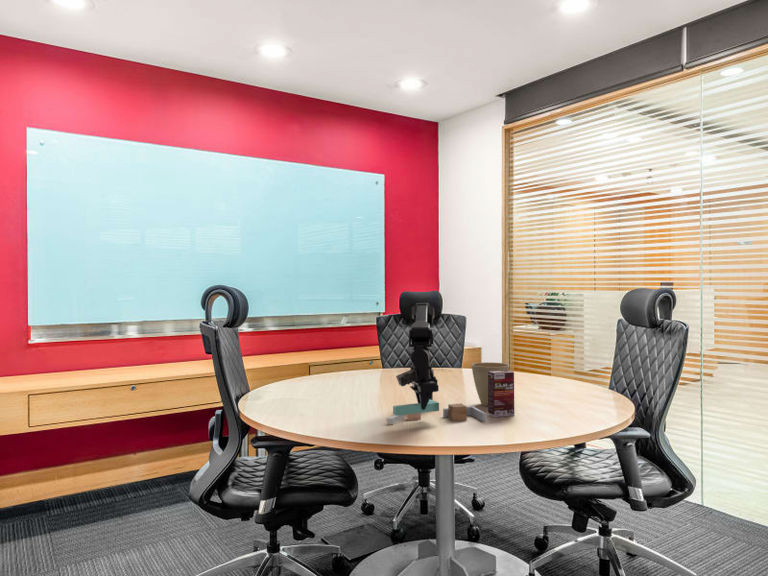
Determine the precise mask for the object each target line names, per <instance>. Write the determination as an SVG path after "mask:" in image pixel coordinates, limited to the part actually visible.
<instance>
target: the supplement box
mask: <svg viewBox="0 0 768 576" xmlns="http://www.w3.org/2000/svg"><path fill="white" fill-rule="evenodd" d="M487 414H488V415H489V416H490V417H492V418H499V417H510V416H511V417H512V416H515V371H511V370H509V371H508V370H507V371H491V372H488V406H487Z"/></svg>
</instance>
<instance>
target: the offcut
mask: <svg viewBox="0 0 768 576" xmlns="http://www.w3.org/2000/svg"><path fill="white" fill-rule="evenodd" d="M421 416H422V413H416V414H407V418H406V419H407V420H408V421H415V419H419V420H422V419H421V418H422V417H421Z"/></svg>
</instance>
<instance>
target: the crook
mask: <svg viewBox="0 0 768 576" xmlns="http://www.w3.org/2000/svg"><path fill="white" fill-rule="evenodd" d="M439 411H440V403H439V402H438V401H436V400H434V399H433V400H431V399H429V401H428V404H427V406H426V408H425V410H422V408H421V403H418V402H417V403H409V404H407V403H406V404H399V405H393V406H392V413H393V414H392V415H396V416H398V415H404V416H405V415H407V414H416V413H421V414H423V413H433V412H439Z"/></svg>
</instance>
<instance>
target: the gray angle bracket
mask: <svg viewBox="0 0 768 576" xmlns="http://www.w3.org/2000/svg"><path fill="white" fill-rule="evenodd" d="M442 412H443V413H442V417H443V418H449V416H448V407H447V408H445V407H444V408H443V409H442ZM468 416H470V417H471V416H472V417H474V418H475V417H476V419H477V420H479V421H481V422H482V421H483V422H486V412H484V411H482V410H481V409H479V408H476V407H475V406H473V405H469V406H467V417H468Z"/></svg>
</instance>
